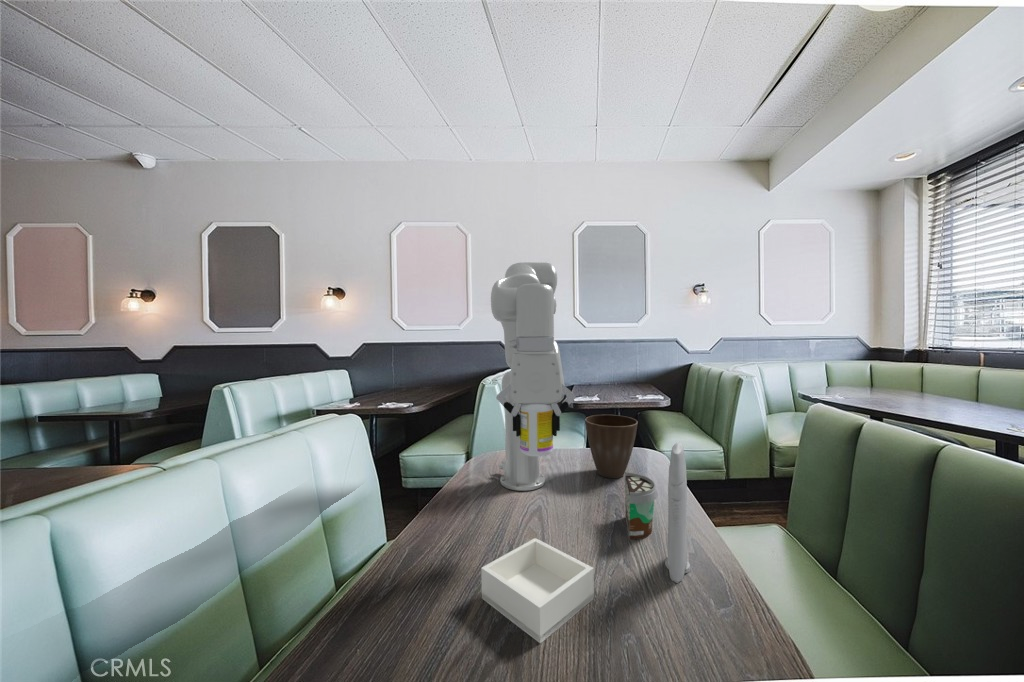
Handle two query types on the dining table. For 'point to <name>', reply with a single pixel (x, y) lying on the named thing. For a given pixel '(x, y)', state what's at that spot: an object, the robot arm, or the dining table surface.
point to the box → (537, 587)
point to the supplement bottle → (536, 429)
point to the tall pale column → (677, 516)
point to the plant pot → (611, 443)
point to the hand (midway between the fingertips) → (536, 433)
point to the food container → (639, 504)
